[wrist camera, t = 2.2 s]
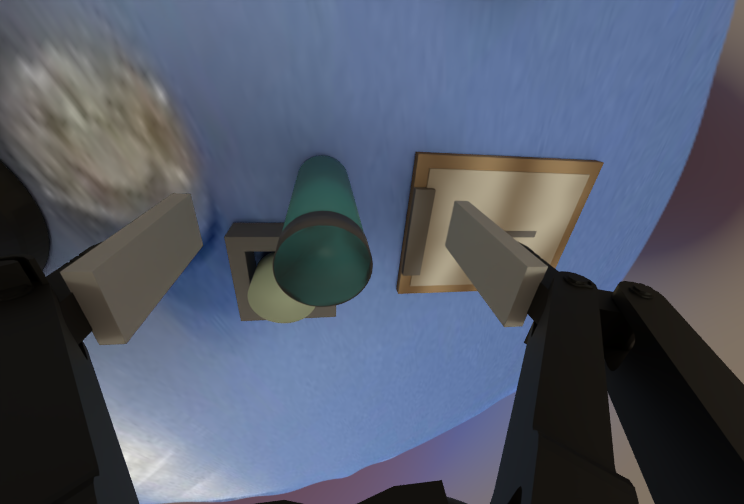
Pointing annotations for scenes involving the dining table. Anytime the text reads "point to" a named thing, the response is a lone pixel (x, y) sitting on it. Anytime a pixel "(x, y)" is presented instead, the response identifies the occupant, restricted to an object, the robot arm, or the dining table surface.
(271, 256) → the button
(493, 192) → the drawing board
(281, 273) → the marker
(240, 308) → the button frame
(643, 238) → the dining table surface
